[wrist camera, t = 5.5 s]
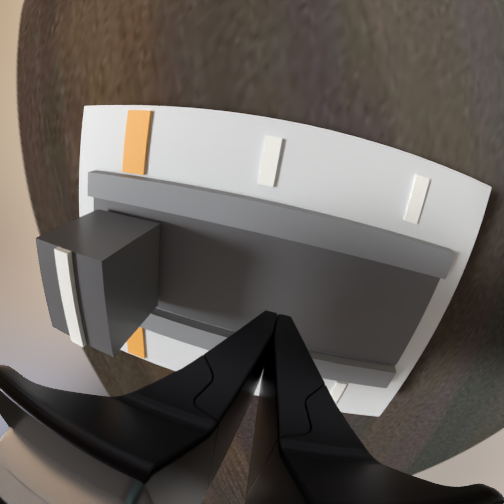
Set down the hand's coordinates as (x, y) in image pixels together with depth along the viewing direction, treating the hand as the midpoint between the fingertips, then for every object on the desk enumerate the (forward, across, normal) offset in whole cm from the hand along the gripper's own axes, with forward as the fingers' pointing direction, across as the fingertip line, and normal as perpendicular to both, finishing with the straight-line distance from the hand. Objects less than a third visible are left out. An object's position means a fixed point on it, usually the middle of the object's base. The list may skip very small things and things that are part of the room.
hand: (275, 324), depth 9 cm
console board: (+4, +1, 0) cm, 4 cm away
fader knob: (+1, +6, 0) cm, 6 cm away
